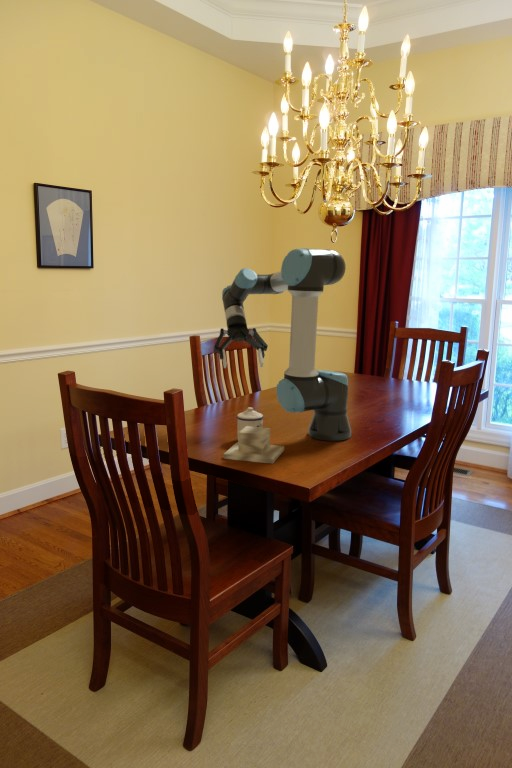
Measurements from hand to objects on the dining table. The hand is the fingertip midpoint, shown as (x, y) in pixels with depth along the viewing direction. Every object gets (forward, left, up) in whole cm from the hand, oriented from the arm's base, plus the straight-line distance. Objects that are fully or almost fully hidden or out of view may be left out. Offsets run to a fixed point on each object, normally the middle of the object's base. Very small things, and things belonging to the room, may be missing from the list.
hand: (243, 365), depth 212 cm
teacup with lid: (-7, +13, -24) cm, 28 cm away
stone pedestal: (-13, +29, -24) cm, 40 cm away
